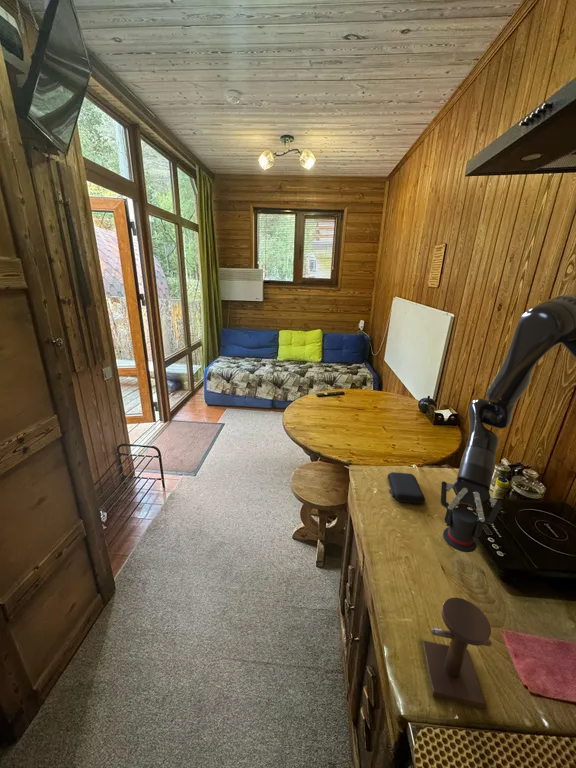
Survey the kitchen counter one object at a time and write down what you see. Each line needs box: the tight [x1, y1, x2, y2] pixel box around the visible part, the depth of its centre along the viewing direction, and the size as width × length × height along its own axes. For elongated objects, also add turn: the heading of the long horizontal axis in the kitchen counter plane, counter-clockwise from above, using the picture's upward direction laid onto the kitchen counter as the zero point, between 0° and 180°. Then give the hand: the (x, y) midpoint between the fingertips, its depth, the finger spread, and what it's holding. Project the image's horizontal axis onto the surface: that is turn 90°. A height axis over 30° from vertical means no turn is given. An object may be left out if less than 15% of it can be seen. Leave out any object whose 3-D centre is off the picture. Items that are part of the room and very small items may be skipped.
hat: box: [442, 506, 478, 553], centre depth 77 cm, size 8×8×8 cm
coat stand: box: [421, 597, 492, 709], centre depth 53 cm, size 9×8×14 cm
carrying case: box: [387, 471, 426, 505], centre depth 103 cm, size 11×3×15 cm
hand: (461, 531), depth 76 cm, fingers closed on hat, 5 cm apart
